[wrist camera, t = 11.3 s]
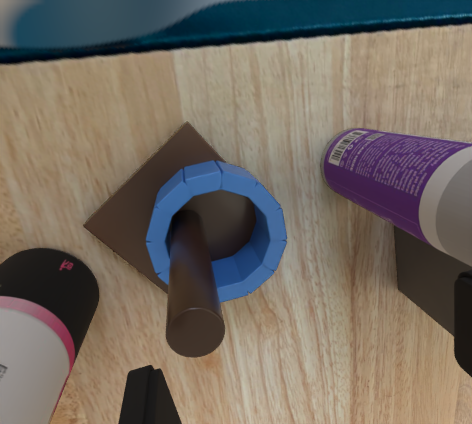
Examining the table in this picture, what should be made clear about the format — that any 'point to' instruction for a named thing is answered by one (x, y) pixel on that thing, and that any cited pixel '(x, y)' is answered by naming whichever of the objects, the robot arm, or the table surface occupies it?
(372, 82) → the table surface
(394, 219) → the container
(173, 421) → the robot arm
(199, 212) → the stand
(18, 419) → the beverage can
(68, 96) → the table surface
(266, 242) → the ring
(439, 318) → the pedestal
